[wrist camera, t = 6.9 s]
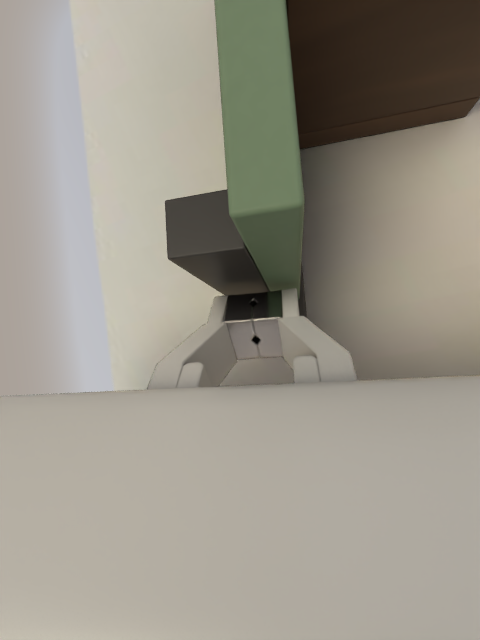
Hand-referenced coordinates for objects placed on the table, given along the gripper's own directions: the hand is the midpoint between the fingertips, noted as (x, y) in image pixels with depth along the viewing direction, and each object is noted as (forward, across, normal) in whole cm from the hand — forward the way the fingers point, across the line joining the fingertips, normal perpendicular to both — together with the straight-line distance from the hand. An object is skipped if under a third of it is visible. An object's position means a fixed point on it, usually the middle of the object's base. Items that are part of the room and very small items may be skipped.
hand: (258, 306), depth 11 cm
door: (+7, 0, -2) cm, 8 cm away
